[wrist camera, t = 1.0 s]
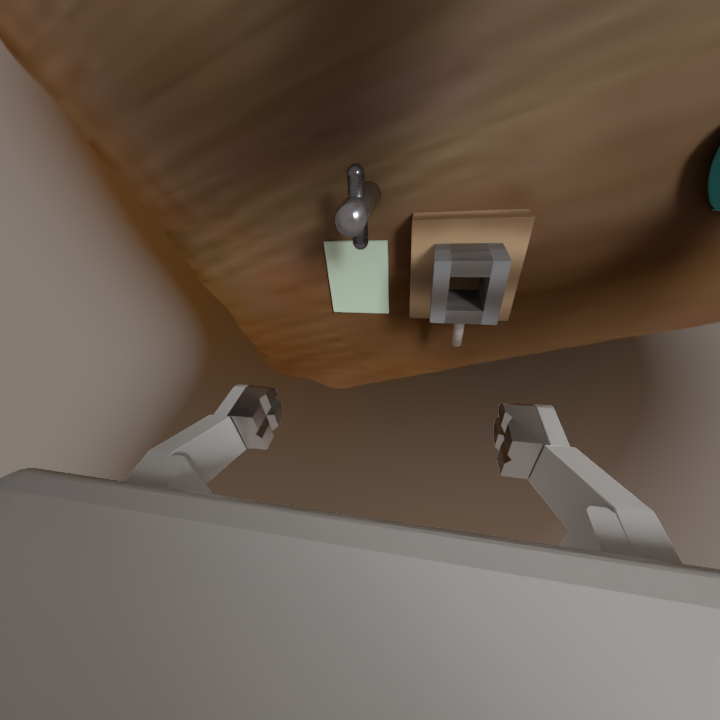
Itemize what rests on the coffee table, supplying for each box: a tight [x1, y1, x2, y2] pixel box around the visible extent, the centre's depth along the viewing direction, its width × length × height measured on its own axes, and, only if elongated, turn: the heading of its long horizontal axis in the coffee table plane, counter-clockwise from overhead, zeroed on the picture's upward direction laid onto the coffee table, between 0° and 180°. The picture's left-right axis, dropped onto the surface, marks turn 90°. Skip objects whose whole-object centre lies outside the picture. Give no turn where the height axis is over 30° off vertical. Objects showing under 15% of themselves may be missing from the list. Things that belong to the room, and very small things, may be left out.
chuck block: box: [409, 209, 535, 347], centre depth 35 cm, size 14×12×8 cm
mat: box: [324, 240, 389, 314], centre depth 41 cm, size 10×8×1 cm
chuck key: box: [335, 163, 381, 250], centre depth 31 cm, size 8×3×10 cm, turn 4°
